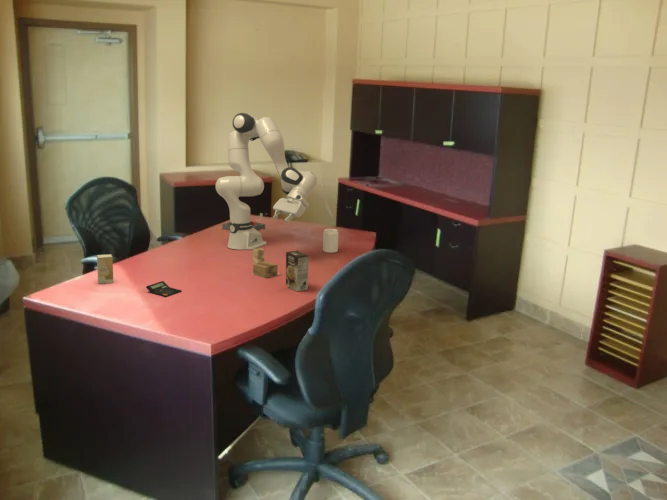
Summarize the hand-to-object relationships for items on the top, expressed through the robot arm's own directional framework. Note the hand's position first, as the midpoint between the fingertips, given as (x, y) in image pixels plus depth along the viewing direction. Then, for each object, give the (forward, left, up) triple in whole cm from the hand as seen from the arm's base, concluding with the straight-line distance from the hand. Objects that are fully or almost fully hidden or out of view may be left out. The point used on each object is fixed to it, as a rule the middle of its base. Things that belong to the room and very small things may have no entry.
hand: (279, 220), depth 318 cm
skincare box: (+79, -31, -22) cm, 88 cm away
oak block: (+12, -3, -21) cm, 25 cm away
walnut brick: (+23, +13, -21) cm, 34 cm away
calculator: (+69, -2, -22) cm, 73 cm away
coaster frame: (-35, -65, -21) cm, 76 cm away
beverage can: (-33, +6, -22) cm, 40 cm away
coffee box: (+25, +35, -22) cm, 49 cm away
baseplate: (+22, +13, -21) cm, 34 cm away
